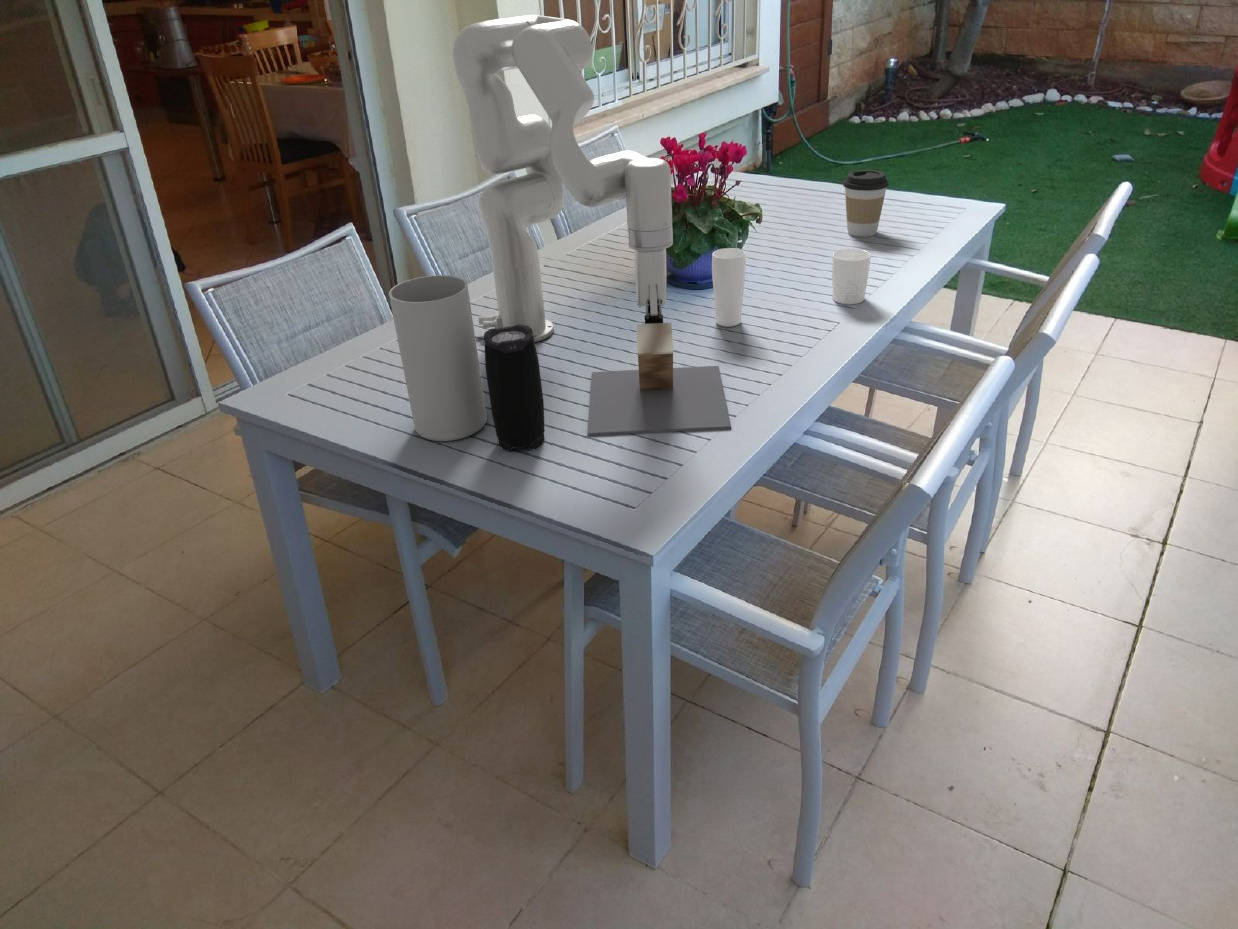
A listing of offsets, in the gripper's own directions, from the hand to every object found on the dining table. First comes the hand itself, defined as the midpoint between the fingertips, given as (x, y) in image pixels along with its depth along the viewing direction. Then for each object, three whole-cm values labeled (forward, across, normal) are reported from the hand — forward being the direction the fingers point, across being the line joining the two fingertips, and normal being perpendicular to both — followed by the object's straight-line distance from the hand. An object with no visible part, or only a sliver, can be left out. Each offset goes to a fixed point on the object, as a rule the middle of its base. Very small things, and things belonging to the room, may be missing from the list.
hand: (654, 337), depth 166 cm
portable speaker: (+10, +18, -23) cm, 31 cm away
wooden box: (+8, 0, 0) cm, 8 cm away
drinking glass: (+10, -28, +16) cm, 34 cm away
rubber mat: (+10, +6, 0) cm, 11 cm away
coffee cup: (+10, -84, +56) cm, 102 cm away
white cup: (+10, -38, +43) cm, 59 cm away
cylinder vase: (+10, +11, -36) cm, 39 cm away
